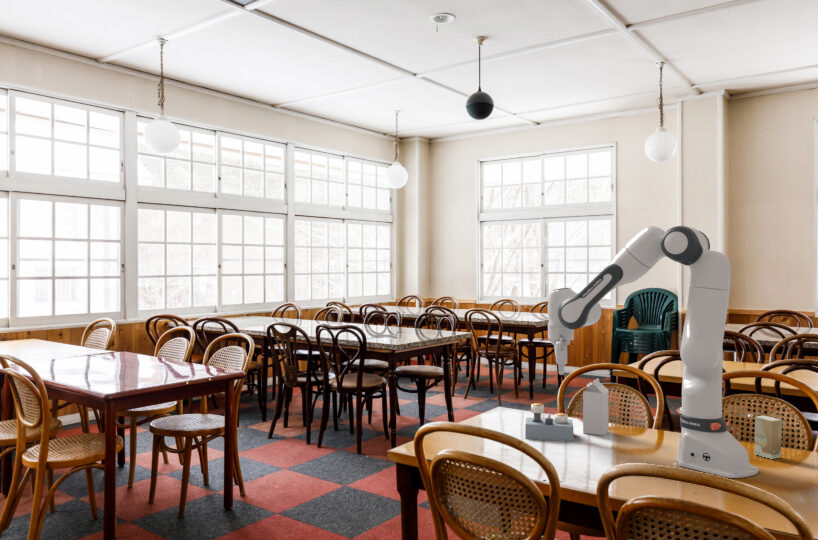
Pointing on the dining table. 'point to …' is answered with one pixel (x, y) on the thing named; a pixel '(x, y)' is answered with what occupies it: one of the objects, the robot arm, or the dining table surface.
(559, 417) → the knob
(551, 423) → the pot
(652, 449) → the dining table surface
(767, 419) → the skincare box
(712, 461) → the robot arm
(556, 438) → the mount
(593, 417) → the milk carton
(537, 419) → the knob
